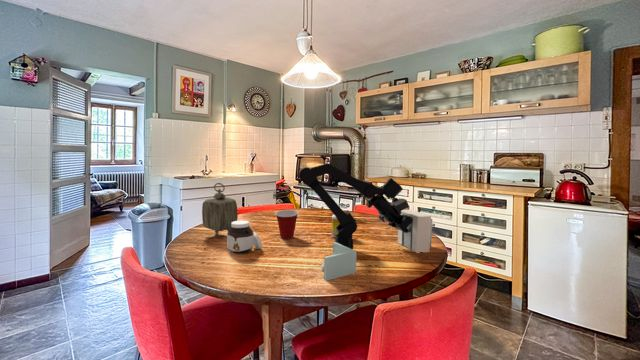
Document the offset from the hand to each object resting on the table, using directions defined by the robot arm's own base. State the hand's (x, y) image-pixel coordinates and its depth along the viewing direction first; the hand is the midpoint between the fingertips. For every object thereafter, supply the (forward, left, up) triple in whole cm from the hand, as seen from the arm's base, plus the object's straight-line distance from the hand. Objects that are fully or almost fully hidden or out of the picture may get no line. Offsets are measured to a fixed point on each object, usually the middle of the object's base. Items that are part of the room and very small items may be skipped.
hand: (407, 232), depth 124 cm
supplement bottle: (-22, +23, -7) cm, 33 cm away
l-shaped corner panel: (-38, -15, -7) cm, 42 cm away
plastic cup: (-46, +27, -7) cm, 54 cm away
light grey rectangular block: (+5, 0, -7) cm, 9 cm away
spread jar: (-65, +13, -7) cm, 67 cm away
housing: (+3, 0, -7) cm, 7 cm away
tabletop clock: (-76, +36, -7) cm, 84 cm away
